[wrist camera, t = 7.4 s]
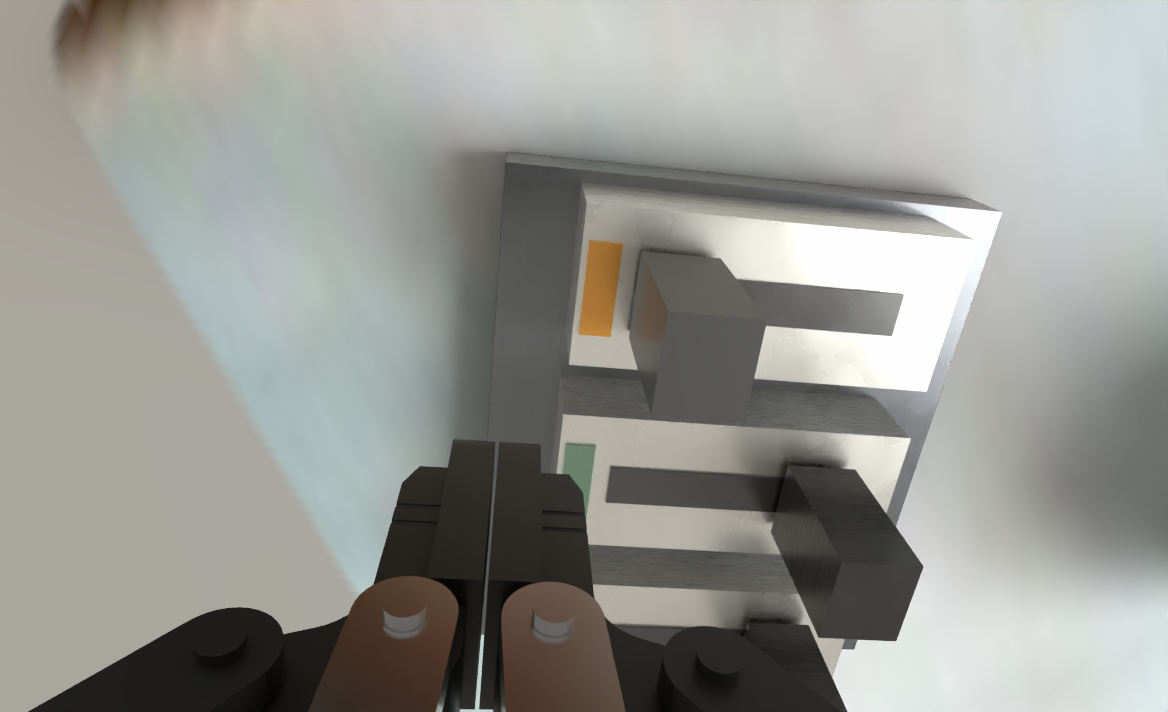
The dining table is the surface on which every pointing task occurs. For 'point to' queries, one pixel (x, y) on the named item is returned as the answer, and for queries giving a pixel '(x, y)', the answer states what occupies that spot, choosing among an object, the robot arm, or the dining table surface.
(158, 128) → the dining table surface
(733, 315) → the block
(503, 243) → the breaker panel
